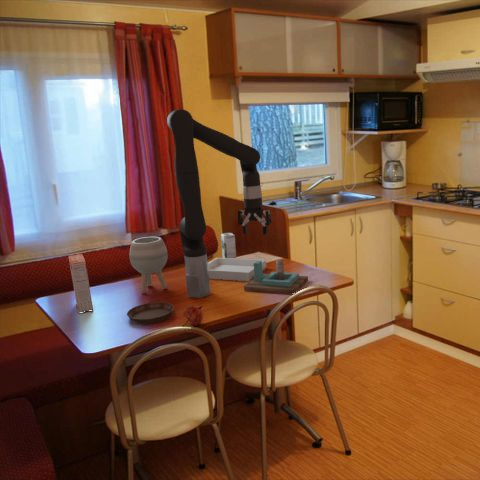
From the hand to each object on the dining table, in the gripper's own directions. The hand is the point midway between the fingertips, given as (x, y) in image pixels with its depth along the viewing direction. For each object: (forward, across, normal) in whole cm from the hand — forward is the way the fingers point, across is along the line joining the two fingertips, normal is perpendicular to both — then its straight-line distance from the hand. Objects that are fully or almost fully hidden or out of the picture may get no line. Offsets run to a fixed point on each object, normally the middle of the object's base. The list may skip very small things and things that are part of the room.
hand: (255, 234), depth 228 cm
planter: (+22, -44, -16) cm, 52 cm away
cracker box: (+22, -60, -42) cm, 76 cm away
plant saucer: (+22, -26, -44) cm, 56 cm away
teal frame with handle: (+20, +8, 0) cm, 21 cm away
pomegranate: (+22, -6, -47) cm, 52 cm away
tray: (+22, -19, +13) cm, 32 cm away
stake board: (+22, +8, 0) cm, 24 cm away
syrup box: (+22, -28, +29) cm, 46 cm away
